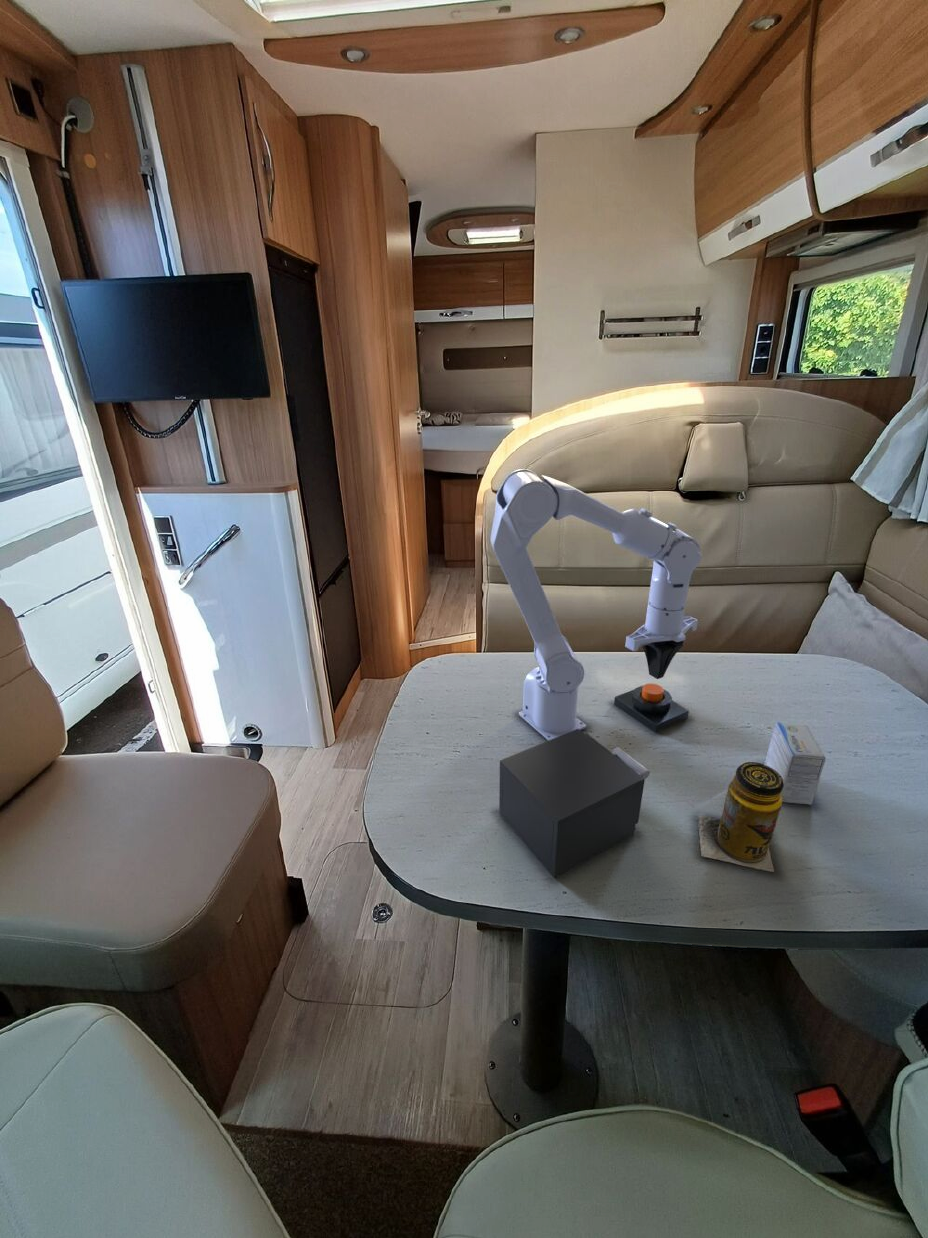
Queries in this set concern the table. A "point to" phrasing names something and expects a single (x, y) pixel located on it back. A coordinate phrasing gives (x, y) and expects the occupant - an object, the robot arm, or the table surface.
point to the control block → (651, 709)
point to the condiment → (745, 819)
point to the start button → (652, 692)
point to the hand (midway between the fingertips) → (655, 675)
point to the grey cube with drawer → (568, 800)
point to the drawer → (629, 767)
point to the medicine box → (796, 761)
